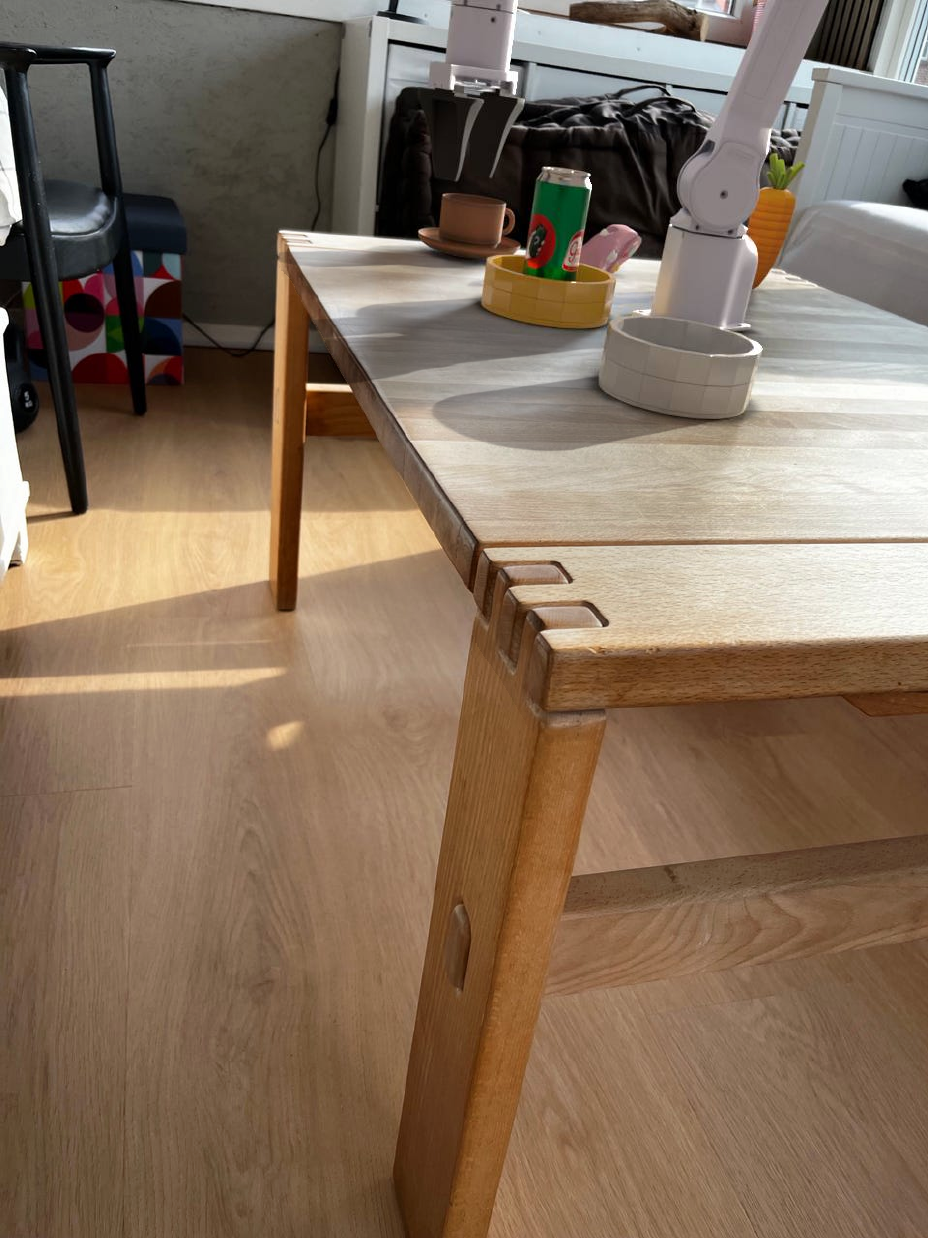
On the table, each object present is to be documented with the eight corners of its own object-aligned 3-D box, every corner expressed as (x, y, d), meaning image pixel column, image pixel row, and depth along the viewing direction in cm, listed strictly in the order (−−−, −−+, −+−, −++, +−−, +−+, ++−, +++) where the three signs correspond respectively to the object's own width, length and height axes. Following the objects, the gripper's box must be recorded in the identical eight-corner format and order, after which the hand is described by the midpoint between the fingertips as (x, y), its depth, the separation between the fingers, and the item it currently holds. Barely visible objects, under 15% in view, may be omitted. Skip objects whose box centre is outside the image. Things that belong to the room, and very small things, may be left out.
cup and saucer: (456, 241, 127) (462, 188, 124) (537, 261, 122) (545, 206, 119) (395, 247, 118) (400, 190, 115) (479, 269, 113) (487, 210, 110)
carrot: (778, 291, 125) (813, 157, 118) (765, 295, 121) (801, 157, 114) (739, 282, 127) (771, 151, 120) (726, 286, 123) (758, 150, 116)
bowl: (542, 293, 105) (548, 253, 104) (633, 323, 98) (641, 280, 96) (454, 299, 98) (460, 255, 96) (546, 332, 90) (554, 286, 88)
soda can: (567, 315, 95) (591, 176, 89) (514, 306, 96) (534, 167, 90) (573, 305, 100) (596, 172, 94) (522, 296, 100) (542, 164, 94)
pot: (658, 366, 85) (670, 311, 82) (774, 408, 78) (790, 349, 76) (568, 380, 77) (578, 320, 75) (686, 426, 71) (702, 362, 69)
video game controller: (584, 294, 116) (620, 241, 111) (555, 268, 116) (590, 214, 112) (619, 285, 123) (655, 236, 119) (592, 261, 124) (626, 211, 120)
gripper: (476, 12, 96) (459, 167, 103) (403, -4, 85) (389, 173, 91) (545, 21, 94) (523, 179, 101) (480, 5, 82) (459, 186, 89)
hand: (464, 177), depth 96 cm, fingers open, 7 cm apart
